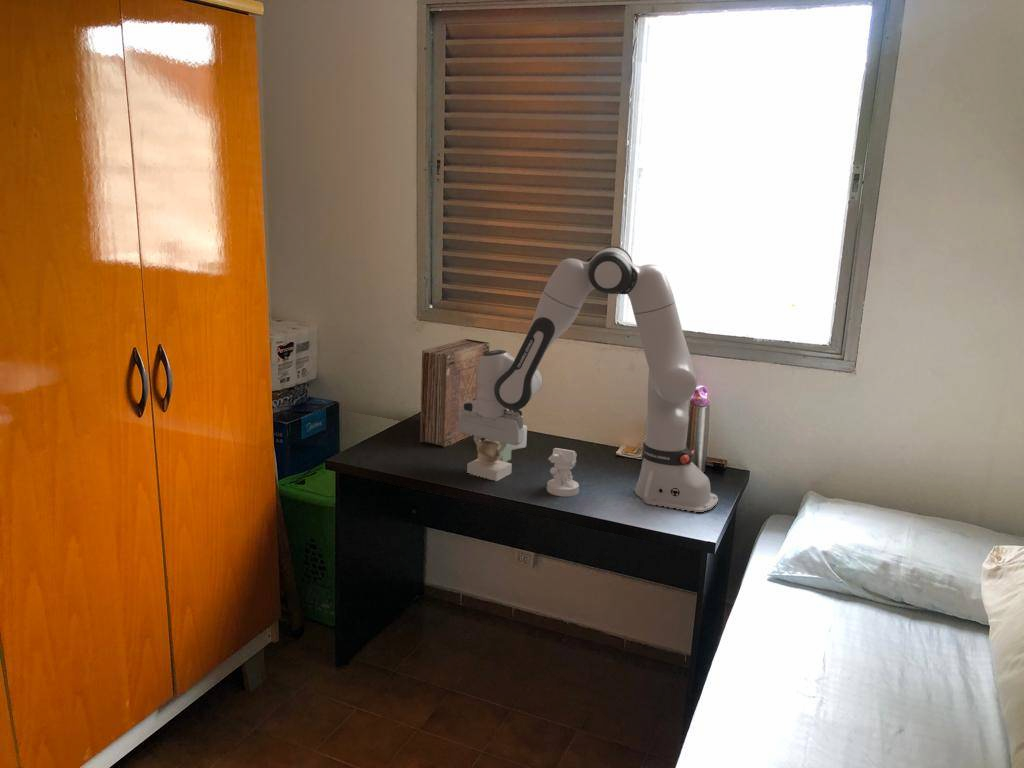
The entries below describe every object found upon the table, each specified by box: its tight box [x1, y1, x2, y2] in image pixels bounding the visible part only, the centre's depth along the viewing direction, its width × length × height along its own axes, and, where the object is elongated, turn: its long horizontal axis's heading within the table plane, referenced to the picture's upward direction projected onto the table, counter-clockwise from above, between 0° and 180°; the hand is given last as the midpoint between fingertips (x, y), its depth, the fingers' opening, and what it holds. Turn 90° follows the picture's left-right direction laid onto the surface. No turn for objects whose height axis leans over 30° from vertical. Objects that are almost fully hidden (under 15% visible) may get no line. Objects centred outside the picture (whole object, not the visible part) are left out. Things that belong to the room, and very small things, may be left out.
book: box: [419, 338, 490, 449], centre depth 263 cm, size 25×9×30 cm, turn 150°
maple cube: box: [477, 438, 502, 463], centre depth 232 cm, size 5×5×5 cm
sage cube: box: [500, 444, 513, 462], centre depth 245 cm, size 5×5×5 cm
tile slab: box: [466, 458, 513, 482], centre depth 234 cm, size 10×8×3 cm
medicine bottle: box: [507, 409, 528, 451], centre depth 257 cm, size 7×7×12 cm
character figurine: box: [546, 447, 580, 497], centre depth 223 cm, size 9×10×12 cm
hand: (489, 453), depth 232 cm, fingers closed on maple cube, 5 cm apart
